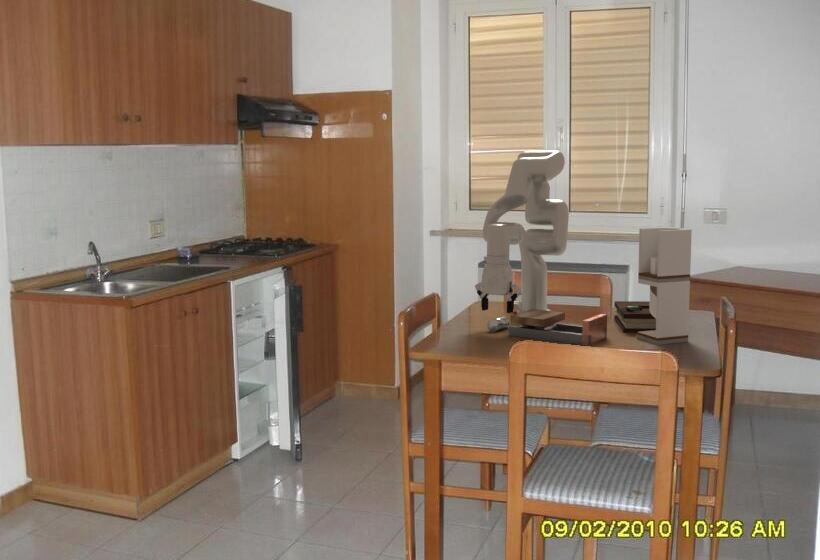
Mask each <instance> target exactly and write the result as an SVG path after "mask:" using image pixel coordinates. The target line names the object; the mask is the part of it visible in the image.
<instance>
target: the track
mask: <svg viewBox="0 0 820 560" xmlns="http://www.w3.org/2000/svg"><path fill="white" fill-rule="evenodd" d="M607 333H608V314H607V313H606V314H605V313H601V314H600V313H599V314H597V315H594V316H592V317H588V318H587V319H586V318H585V319H584V320H582V324H581V325H579V324H572V323H561V322H556V323H553V324H551V325H548V326H545V327H540V326H532V325H523V324H518V325H509V326H508V336H509V337H510V336H511V337H517V338H526V339H527V338H528V339H535V340H542V341H549V342H550V341H551V342H557V341H561V342H560V343H565V342H568V343H567V344H573V343H577V344H576V345H581V346H590V345H592V344H595V343H598V342H599V341H602V340H605V339H607V338H608V334H607ZM569 342H570V343H569Z"/></svg>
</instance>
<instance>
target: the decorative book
mask: <svg viewBox="0 0 820 560" xmlns="http://www.w3.org/2000/svg"><path fill="white" fill-rule="evenodd" d="M613 303H614V305H613V306H614V308H616V309H612V310H613V311H614V312H615V313H616V314H614V316H613V319H614V320H615V322H616V323H617V325H618V327H619V328H620V329H621V331H622V332H623V333H625V334H626V333H631V334H632V333H633V334H637V332H641V331H652V330H656V318H654V317H653V316H652V315H651V313H650V310H649V307H650V300H649V301H645V300H643V301H641V300H640V301H632V300H631V301H630V300H627V301H626V300H624V301H623V300H621V301H620V300H619V301H618V300H617V301H616V300H614V302H613Z"/></svg>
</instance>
